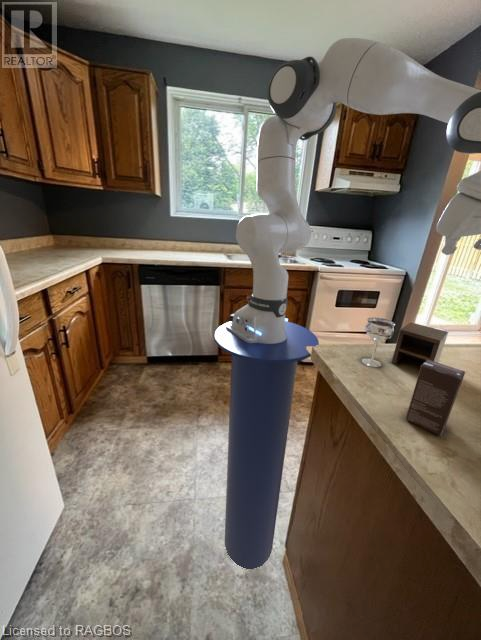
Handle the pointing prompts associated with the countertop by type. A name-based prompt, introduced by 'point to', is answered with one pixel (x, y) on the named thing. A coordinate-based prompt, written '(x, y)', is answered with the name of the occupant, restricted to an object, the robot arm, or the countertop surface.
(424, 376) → the box
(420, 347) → the shelf
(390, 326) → the wineglass
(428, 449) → the countertop surface
